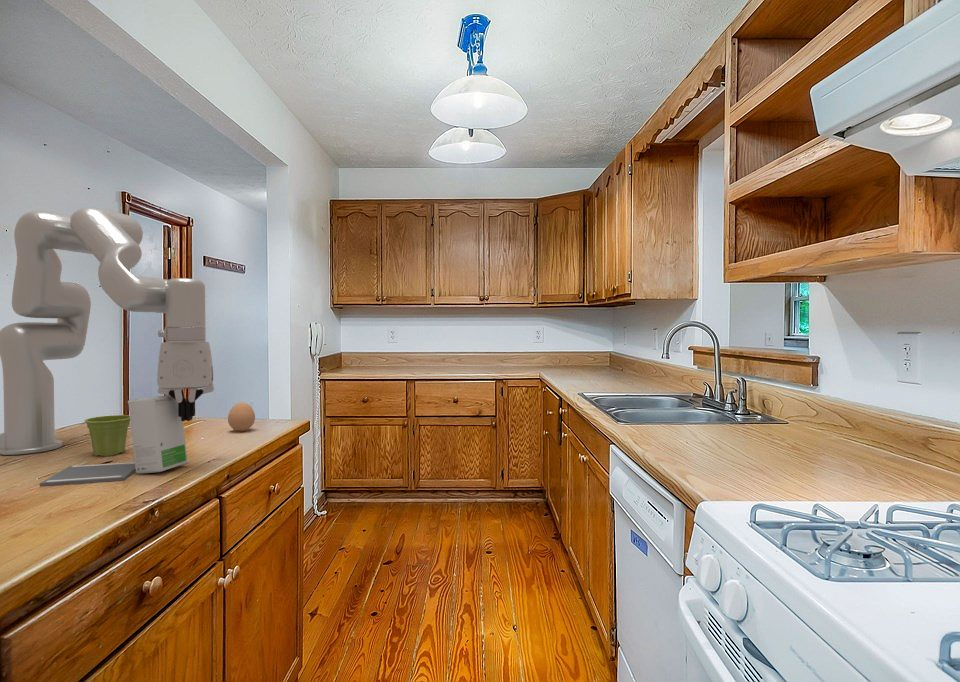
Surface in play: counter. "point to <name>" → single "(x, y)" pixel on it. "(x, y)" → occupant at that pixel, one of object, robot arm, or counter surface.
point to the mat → (91, 474)
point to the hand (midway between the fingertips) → (186, 419)
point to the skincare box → (157, 434)
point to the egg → (241, 417)
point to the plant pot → (108, 434)
